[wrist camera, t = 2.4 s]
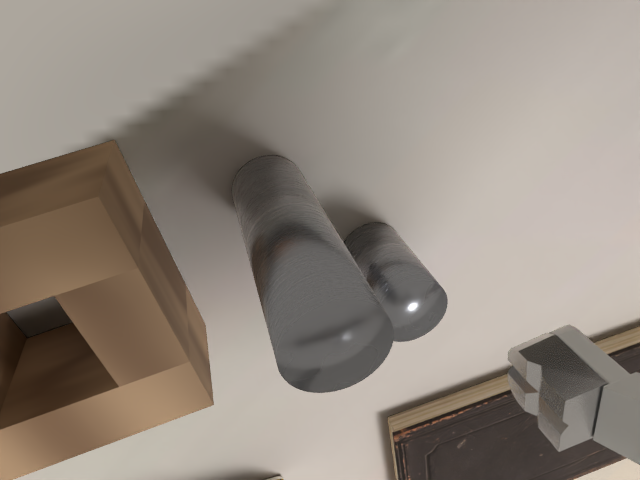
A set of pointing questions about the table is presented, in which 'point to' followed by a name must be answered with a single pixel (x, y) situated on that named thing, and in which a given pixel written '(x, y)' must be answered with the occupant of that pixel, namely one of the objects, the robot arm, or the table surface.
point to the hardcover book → (495, 433)
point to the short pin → (398, 280)
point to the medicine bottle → (275, 478)
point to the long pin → (307, 281)
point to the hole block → (90, 314)
